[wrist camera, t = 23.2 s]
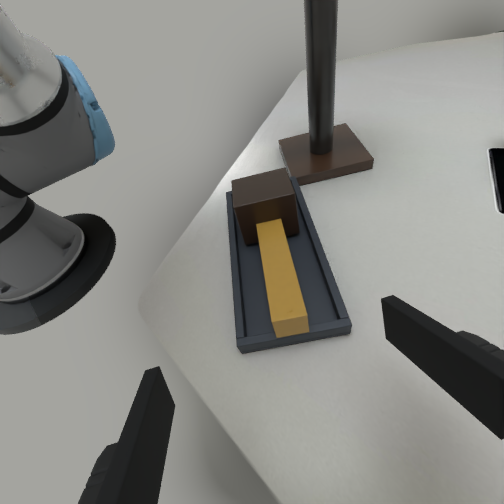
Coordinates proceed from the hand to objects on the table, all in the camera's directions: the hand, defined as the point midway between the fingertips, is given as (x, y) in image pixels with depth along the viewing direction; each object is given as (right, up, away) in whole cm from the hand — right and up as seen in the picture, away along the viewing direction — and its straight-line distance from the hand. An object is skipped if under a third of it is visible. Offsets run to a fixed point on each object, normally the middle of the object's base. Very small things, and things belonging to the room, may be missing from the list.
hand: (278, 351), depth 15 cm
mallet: (+1, +5, +16) cm, 17 cm away
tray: (+1, +6, +18) cm, 19 cm away
